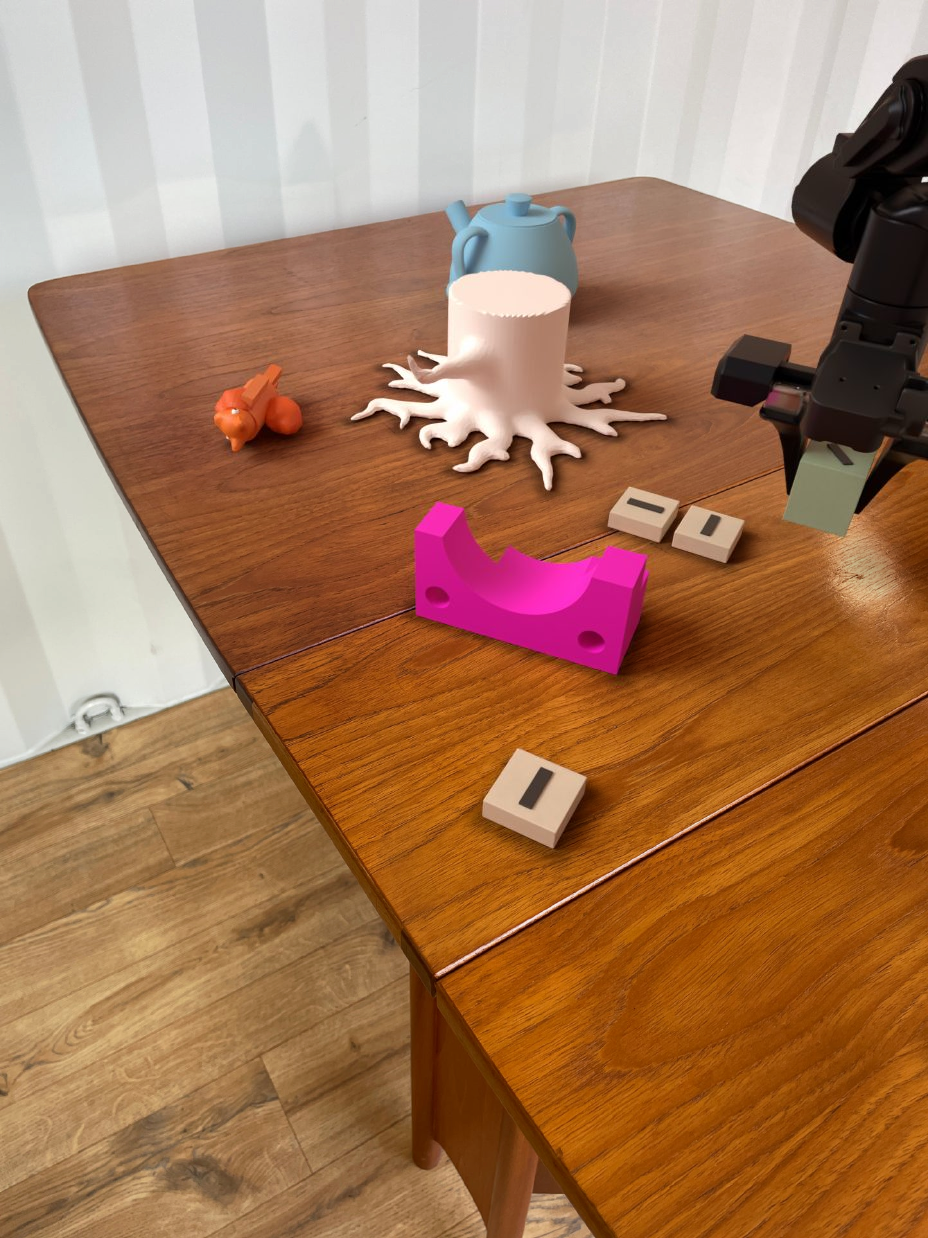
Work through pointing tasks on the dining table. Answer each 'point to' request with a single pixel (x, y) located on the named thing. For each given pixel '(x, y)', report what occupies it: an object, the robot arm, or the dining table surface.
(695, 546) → the beige letter tiles
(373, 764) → the dining table surface
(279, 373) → the orange toy bird
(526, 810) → the beige minus sign block
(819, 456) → the green letter i block
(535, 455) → the tree stump
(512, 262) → the teapot
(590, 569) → the magenta cradle bracket
